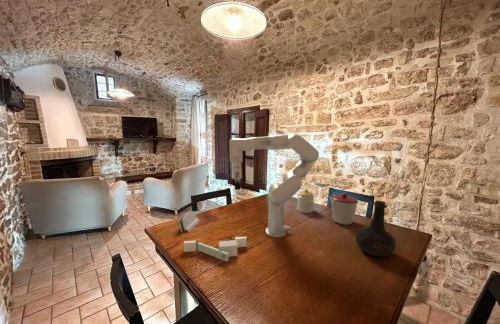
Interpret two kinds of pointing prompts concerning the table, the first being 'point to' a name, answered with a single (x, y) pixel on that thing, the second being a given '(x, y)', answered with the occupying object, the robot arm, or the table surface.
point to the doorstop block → (229, 247)
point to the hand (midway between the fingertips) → (236, 187)
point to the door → (212, 251)
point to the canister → (343, 208)
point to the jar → (305, 201)
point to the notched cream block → (192, 244)
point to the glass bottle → (376, 234)
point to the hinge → (188, 221)
